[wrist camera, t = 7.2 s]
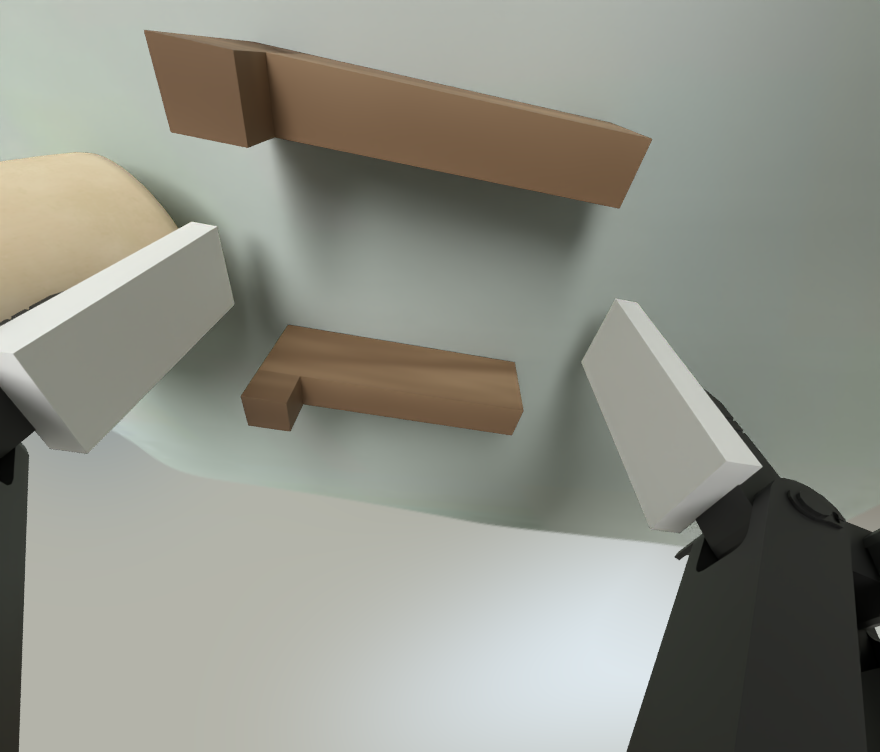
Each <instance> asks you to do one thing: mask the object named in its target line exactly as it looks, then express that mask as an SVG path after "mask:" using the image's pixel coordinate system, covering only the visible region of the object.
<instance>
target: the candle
mask: <svg viewBox="0 0 880 752" xmlns="http://www.w3.org/2000/svg"><path fill="white" fill-rule="evenodd" d="M177 229H178V227H177V226H176V224H175V223H174V221H173V220H172V218H171V217H170V216H169V214H168V213H167V212H166V210H165V209H164V208H163V207H162V205H161V204H160V203H159V202H158V201H157V200H156V198H155V197H154V196H153V195H152V194H151V193H150V192H149V191H148V190H147V189H146V188H145V187H144V186H143V185H142V184H141V183H140V182H139V181H138V180H137V179H136V178H135V177H134V176H132V175H131V174H130V173H129V172H127V171H126V170H125V169H124V168H122V167H121V166H119V165H118V164H116V163H115V162H113V161H111V160H109V159H107V158H105V157H103V156H100V155H97V154H93V153H81V152H73V153H64V154H55V155H46V156H38V157H31V158H23V159H16V160H8V161H1V162H0V322H2V321H3V320H5V319H11V316H13V315H15V314H16V313H18V312H20V311H22V310H24V309H27V310H28V309H29V306H31V305H33V304H35V303H37V302H39V301H41V300H42V299H44V298H46V297H48V296H50V295H53V294H56V293H59V292H62V291H66V290H68V289H69V288H71V287H73V286H75V285H77V284H79V283H80V282H82V281H84V280H86V279H88V278H90V277H91V276H93V275H95V274H97V273H99V272H100V271H102V270H104V269H106V268H108V267H110V266H111V265H113V264H115V263H117V262H119V261H121V260H122V259H124V258H126V257H128V256H130V255H132V254H133V253H135V252H137V251H139V250H141V249H142V248H144V247H146V246H148V245H150V244H152V243H153V242H155V241H157V240H159V239H161V238H163V237H164V236H166V235H168V234H170V233H172V232H174V231H175V230H177Z"/></svg>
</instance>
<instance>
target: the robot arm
mask: <svg viewBox="0 0 880 752" xmlns="http://www.w3.org/2000/svg"><path fill="white" fill-rule="evenodd" d="M234 305H235V304H234V299H233V295H232V290H231V286H230V281H229V277H228V272H227V268H226V263H225V259H224V255H223V250H222V246H221V241H220V237H219V232H218V228H217V226H213V225H207V224H202V223H196V222H190V223H188V224H186V225H184V226H183V227H181V228H179V229H177V230H175V231H174V232H172V233H170V234H168V235H166V236H164V237H163V238H161V239H159V240H157V241H155V242H153V243H152V244H150V245H148V246H146V247H144V248H142V249H141V250H139V251H137V252H135V253H133V254H132V255H130V256H128V257H126V258H124V259H122V260H121V261H119V262H117V263H115V264H113V265H111V266H110V267H108V268H106V269H104V270H102V271H100V272H99V273H97V274H95V275H93V276H91V277H90V278H88V279H86V280H84V281H82V282H80V283H79V284H77V285H75V286H73V287H71V288H69V289H68V290H66V291H62V292H59V293H56V294H53V295H50V296H48V297H46V298H44V299H42V300H41V301H39V302H37V303H35V304H33V305H31V306H29V309H28V310H27V309H24V310H22V311H20V312H18V313H16V314H15V315H13V316H11V319H5V320H3V321H2V322H0V752H19V727H20V698H21V668H22V639H23V611H24V610H23V609H24V581H25V553H26V524H27V494H28V493H27V492H28V465H29V454H28V452H27V449H26V448H25V446H24V445H22V443H21V442H22V441H23V440H24V439H25V438H27V437H28V436H29V435H30V434H31V433H33V432H34V431H35V432H36V433H37V434H38V435H39V436H40V437H41V439H42V440H43V441H44V442H45V443H46V445H47V446H48V447H49V448H50V449H54V450H62V451H69V452H77V453H84V454H88V453H89V452H90V451H91V450H92V449H93V448H94V447H95V446H96V445H97V444H98V443H99V442H100V441H101V440H102V439H103V437H105V436H106V435H107V434H108V433H109V432H110V431H111V430H112V429H113V428H114V427H115V426H116V425H117V424H118V423H119V422H120V420H121V419H122V418H123V417H124V416H125V415H126V414H127V413H128V412H129V411H130V410H131V409H132V408H133V407H134V406H135V405H136V404H137V403H138V402H139V401H140V400H141V399H142V398H143V397H144V396H145V395H146V394H147V393H148V392H149V391H150V390H151V389H152V388H153V387H154V386H155V385H156V384H157V383H158V382H159V381H160V380H161V379H162V378H163V377H164V376H165V375H166V374H167V373H168V372H169V371H170V370H171V369H172V368H173V367H174V366H175V365H176V364H177V363H178V362H179V361H180V360H181V359H182V358H183V356H184V355H185V354H186V353H187V352H188V351H189V350H190V349H191V348H192V347H193V346H194V345H195V344H196V343H197V342H198V341H199V340H200V339H201V338H202V337H203V336H204V335H205V334H206V333H207V332H208V331H209V330H210V329H211V328H212V327H213V326H214V325H215V324H216V323H217V322H218V321H219V320H220V319H221V318H222V317H223V316H224V315H225V314H226V313H227V312H228V311H229V310H230V309H231V308H232V307H233V306H234ZM581 363H582V365H583V368H584V370H585V373H586V375H587V377H588V380H589V382H590V385H591V387H592V390H593V392H594V394H595V397H596V399H597V402H598V404H599V407H600V409H601V411H602V414H603V416H604V419H605V421H606V423H607V426H608V428H609V431H610V433H611V436H612V438H613V440H614V443H615V445H616V448H617V450H618V453H619V455H620V457H621V460H622V462H623V465H624V467H625V469H626V472H627V474H628V477H629V479H630V482H631V484H632V486H633V489H634V491H635V494H636V496H637V499H638V501H639V503H640V506H641V508H642V511H643V513H644V515H645V518H646V520H647V523H648V525H649V528H650V529H652V530H659V531H667V532H674V533H681V532H682V531H683V530H684V529H686V528H687V527H688V526H689V525H691V524H692V523H693V522H694V521H697V523H698V525H699V527H700V529H701V531H702V533H703V534H702V535H700V536H699V537H698V538H696V539H695V540H694V541H692V542H691V543H690V544H688V545H687V546H686V547H684V548H683V549H682V550H680V551H679V552H678V553H677V554H676V556H675V558H677V559H678V560H680V559H681V558H683V557H684V556H686V555H689V558H688V561H687V564H686V567H685V571H684V574H683V577H682V580H681V583H680V586H679V589H678V592H677V596H676V599H675V602H674V605H673V608H672V611H671V614H670V617H669V621H668V624H667V627H666V630H665V633H664V636H663V640H662V642H661V646H660V649H659V652H658V655H657V658H656V662H655V664H654V668H653V671H652V674H651V677H650V680H649V683H648V686H647V689H646V692H645V696H644V699H643V702H642V705H641V708H640V711H639V714H638V717H637V721H636V724H635V727H634V730H633V733H632V736H631V739H630V743H629V746H628V749H627V752H880V639H879V637H878V635H877V633H876V630H875V627H877V626H880V529H878V530H876V531H874V532H870V531H868V530H866V529H863V528H861V527H858V526H856V525H853V524H850V523H848V522H846V520H845V519H844V518H843V516H842V515H841V514H840V512H839V511H838V510H837V508H836V507H834V506H833V505H832V504H831V503H830V502H829V501H828V500H827V499H826V498H824V497H823V496H822V495H820V494H819V493H817V492H816V491H814V490H813V489H811V488H810V487H808V486H806V485H804V484H801V483H799V482H797V481H794V480H790V479H786V478H780V477H779V475H778V474H777V473H776V472H775V470H774V469H773V468H772V467H771V465H770V464H769V463H768V462H767V460H766V459H765V458H764V456H763V455H762V454H761V453H760V451H759V450H758V449H757V448H756V446H755V445H754V444H753V442H752V441H751V440H750V439H749V437H748V436H747V435H746V434H745V433H742V431H743V430H742V428H741V427H740V426H739V425H738V423H737V422H736V421H733V417H732V416H731V415H730V413H729V412H728V411H727V409H726V408H725V407H724V406H723V404H722V403H721V402H720V401H718V400H717V399H716V398H715V397H713V396H712V395H711V394H710V393H709V392H707V391H706V390H705V389H703V388H702V387H701V385H700V384H699V383H698V381H697V380H696V379H695V377H694V376H693V375H692V374H691V372H690V371H689V370H688V368H687V367H686V366H685V364H684V363H683V362H682V360H681V359H680V358H679V357H678V355H677V354H676V353H675V351H674V350H673V349H672V347H671V346H670V345H669V344H668V342H667V341H666V340H665V338H664V337H663V336H662V334H661V333H660V332H659V330H658V329H657V328H656V327H655V325H654V324H653V323H652V321H651V320H650V319H649V317H648V316H647V315H646V313H645V312H644V311H643V310H642V308H641V307H640V306H639V304H638V303H637V302H632V301H627V300H621V299H616V298H615V300H614V302H613V304H612V306H611V308H610V309H609V311H608V313H607V315H606V317H605V319H604V321H603V322H602V324H601V326H600V328H599V330H598V332H597V334H596V336H595V337H594V339H593V341H592V343H591V345H590V347H589V349H588V350H587V352H586V354H585V356H584V358H583V360H582V362H581Z"/></svg>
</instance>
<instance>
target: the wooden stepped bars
mask: <svg viewBox="0 0 880 752" xmlns="http://www.w3.org/2000/svg"><path fill="white" fill-rule="evenodd" d="M144 33H145V36H146V40H147V44H148V48H149V52H150V55H151V59H152V63H153V67H154V70H155V74H156V78H157V82H158V86H159V89H160V93H161V97H162V101H163V104H164V108H165V112H166V116H167V120H168V123H169V127H170V131H171V132H172V133H177V134H182V135H187V136H192V137H197V138H202V139H207V140H212V141H217V142H222V143H227V144H232V145H236V146H241V147H246V148H249V147H251V146H254V145H256V144H259V143H261V142H264V141H266V140H269V139H272V138H274V137H276V138H280V139H285V140H290V141H295V142H300V143H305V144H309V145H314V146H319V147H324V148H329V149H334V150H338V151H343V152H348V153H353V154H358V155H363V156H367V157H372V158H377V159H382V160H387V161H392V162H397V163H401V164H406V165H411V166H416V167H421V168H426V169H430V170H435V171H440V172H445V173H450V174H455V175H459V176H464V177H469V178H474V179H479V180H484V181H488V182H493V183H498V184H503V185H508V186H513V187H517V188H522V189H527V190H532V191H537V192H542V193H546V194H551V195H556V196H561V197H566V198H571V199H575V200H580V201H585V202H590V203H595V204H600V205H604V206H609V207H614V208H620V206H621V204H622V202H623V200H624V198H625V196H626V194H627V192H628V189H629V187H630V185H631V183H632V181H633V179H634V177H635V175H636V173H637V171H638V168H639V166H640V164H641V162H642V160H643V158H644V156H645V154H646V152H647V149H648V147H649V145H650V143H651V141H652V139H651V138H648V137H646V136H643V135H641V134H638V133H636V132H633V131H630V130H628V129H625V128H623V127H620V126H618V125H615V124H613V123H610V122H605V121H601V120H596V119H592V118H587V117H583V116H579V115H574V114H570V113H565V112H561V111H557V110H552V109H548V108H543V107H539V106H535V105H530V104H526V103H521V102H517V101H512V100H508V99H504V98H499V97H495V96H490V95H486V94H482V93H477V92H473V91H468V90H464V89H459V88H455V87H451V86H446V85H442V84H437V83H433V82H429V81H424V80H420V79H415V78H411V77H407V76H402V75H398V74H393V73H389V72H384V71H380V70H376V69H371V68H367V67H362V66H358V65H354V64H349V63H345V62H340V61H336V60H331V59H327V58H323V57H318V56H314V55H309V54H305V53H301V52H296V51H292V50H287V49H283V48H278V47H274V46H270V45H265V44H261V43H256V42H250V41H241V40H232V39H222V38H213V37H204V36H195V35H185V34H176V33H167V32H158V31H148V30H144ZM241 399H242V403H243V407H244V411H245V415H246V418H247V422H248V425H249V426H256V427H263V428H270V429H277V430H284V431H291V429H292V427H293V425H294V423H295V421H296V419H297V416H298V414H299V412H300V410H301V408H302V406H303V404H305V405H312V406H319V407H325V408H332V409H339V410H345V411H352V412H359V413H365V414H372V415H379V416H385V417H392V418H399V419H405V420H412V421H419V422H426V423H432V424H439V425H446V426H452V427H459V428H466V429H472V430H479V431H486V432H492V433H499V434H506V435H512V434H513V432H514V430H515V428H516V425H517V423H518V421H519V419H520V417H521V415H522V413H523V405H522V400H521V394H520V389H519V383H518V378H517V372H516V367H515V362H510V361H504V360H498V359H492V358H486V357H480V356H474V355H468V354H462V353H456V352H450V351H444V350H438V349H432V348H426V347H420V346H414V345H408V344H402V343H396V342H390V341H384V340H378V339H371V338H365V337H359V336H353V335H347V334H341V333H335V332H329V331H323V330H317V329H311V328H305V327H299V326H293V325H288V326H287V327H286V329H285V330H284V332H283V333H282V335H281V336H280V338H279V339H278V341H277V342H276V344H275V345H274V347H273V348H272V350H271V351H270V353H269V354H268V356H267V357H266V359H265V360H264V362H263V363H262V365H261V366H260V368H259V369H258V371H257V372H256V374H255V375H254V377H253V378H252V380H251V381H250V383H249V384H248V386H247V387H246V389H245V390H244V392H243V393H242V395H241Z"/></svg>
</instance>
